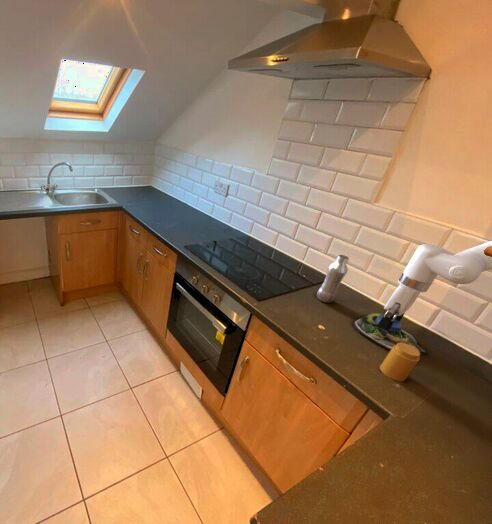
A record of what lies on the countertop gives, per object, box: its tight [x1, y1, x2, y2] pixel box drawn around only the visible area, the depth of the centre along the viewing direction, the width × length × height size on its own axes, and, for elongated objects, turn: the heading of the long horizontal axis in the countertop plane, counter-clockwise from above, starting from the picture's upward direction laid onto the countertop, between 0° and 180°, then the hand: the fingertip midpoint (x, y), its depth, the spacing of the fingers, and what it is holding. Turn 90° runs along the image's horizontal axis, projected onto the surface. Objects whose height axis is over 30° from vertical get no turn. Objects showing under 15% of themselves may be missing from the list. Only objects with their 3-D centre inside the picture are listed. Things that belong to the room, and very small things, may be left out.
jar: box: [379, 343, 421, 382], centre depth 86 cm, size 6×6×10 cm
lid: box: [375, 314, 403, 332], centre depth 104 cm, size 7×7×2 cm
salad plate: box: [353, 312, 426, 353], centre depth 103 cm, size 19×18×5 cm
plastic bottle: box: [316, 254, 350, 304], centre depth 118 cm, size 6×7×20 cm
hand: (388, 323), depth 104 cm, fingers open, 9 cm apart
